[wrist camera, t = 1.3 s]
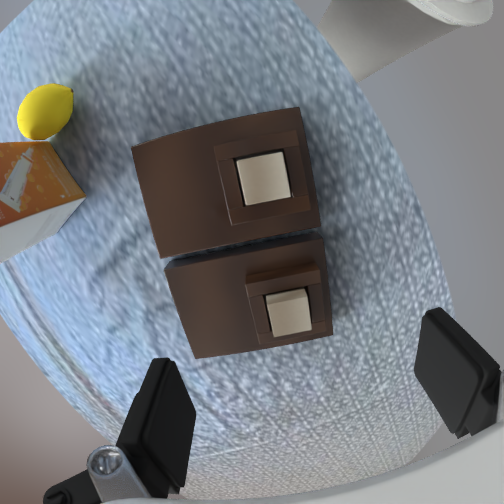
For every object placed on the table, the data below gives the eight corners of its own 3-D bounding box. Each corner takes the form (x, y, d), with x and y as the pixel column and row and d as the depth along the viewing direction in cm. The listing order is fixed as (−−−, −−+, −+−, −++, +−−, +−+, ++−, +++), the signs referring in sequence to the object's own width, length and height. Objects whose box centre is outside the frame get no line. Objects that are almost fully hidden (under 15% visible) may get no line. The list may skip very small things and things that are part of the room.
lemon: (43, 151, 23) (10, 154, 18) (33, 109, 22) (0, 106, 17) (93, 118, 23) (62, 113, 18) (81, 74, 21) (51, 63, 16)
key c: (280, 152, 21) (282, 151, 19) (288, 193, 22) (291, 196, 20) (237, 160, 21) (236, 160, 19) (246, 202, 22) (246, 206, 20)
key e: (303, 287, 24) (307, 296, 23) (308, 319, 25) (311, 329, 24) (265, 294, 24) (267, 304, 23) (272, 326, 25) (274, 337, 24)
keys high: (317, 231, 26) (328, 244, 23) (328, 323, 30) (337, 345, 26) (169, 261, 27) (157, 277, 23) (198, 346, 30) (192, 370, 27)
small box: (89, 196, 25) (-4, 230, 13) (56, 235, 26) (-28, 283, 14) (49, 138, 23) (-45, 144, 11) (19, 180, 24) (-67, 204, 12)
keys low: (295, 110, 23) (303, 102, 19) (315, 220, 26) (326, 232, 22) (139, 147, 24) (121, 146, 20) (166, 251, 27) (153, 266, 23)
